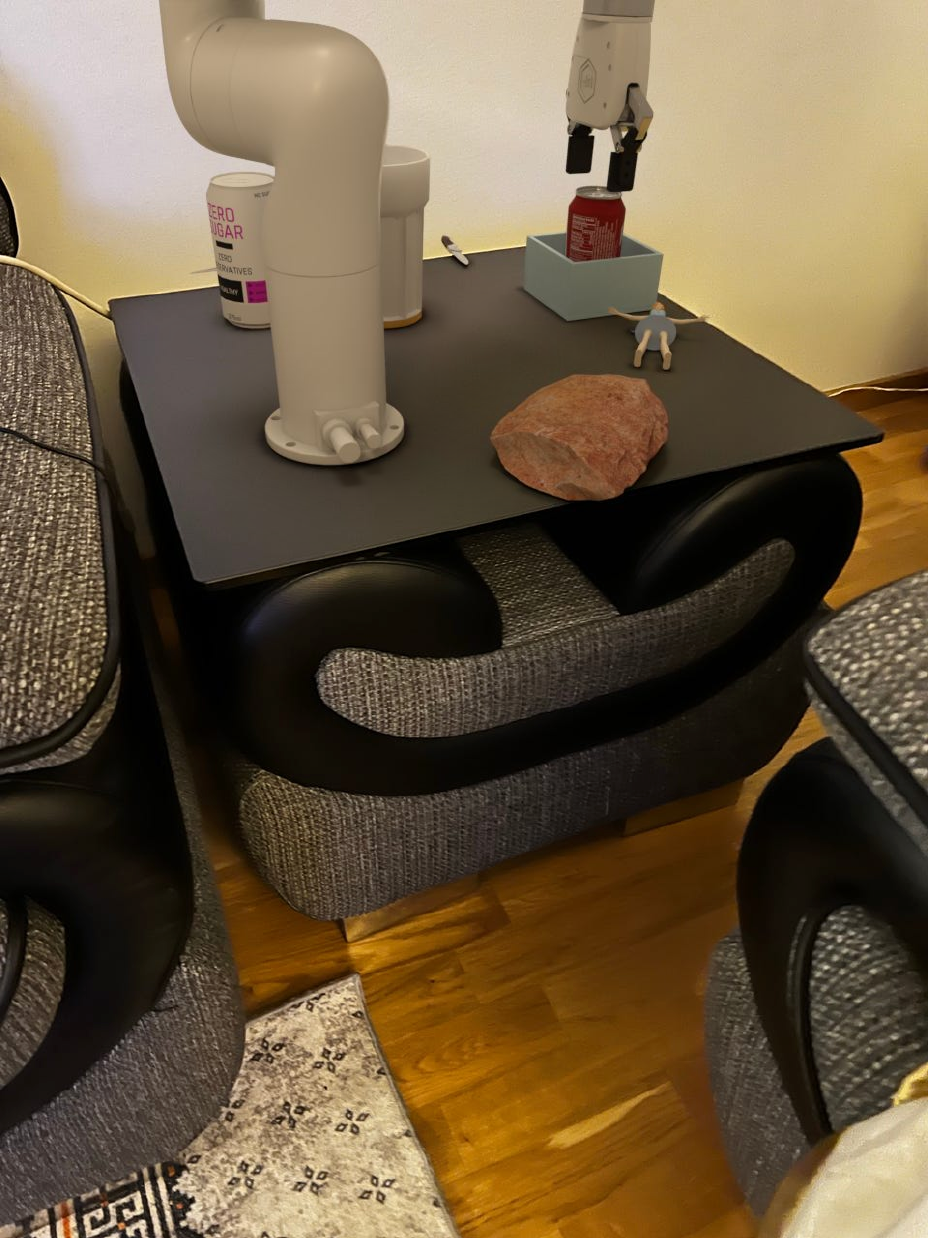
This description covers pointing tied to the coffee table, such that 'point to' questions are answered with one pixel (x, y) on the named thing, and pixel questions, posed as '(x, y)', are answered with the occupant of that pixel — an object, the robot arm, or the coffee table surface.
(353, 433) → the robot arm
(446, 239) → the pocket knife
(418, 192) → the cup
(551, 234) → the case
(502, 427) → the stone
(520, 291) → the coffee table surface
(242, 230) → the supplement can
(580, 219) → the soda can
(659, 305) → the fairy figurine
